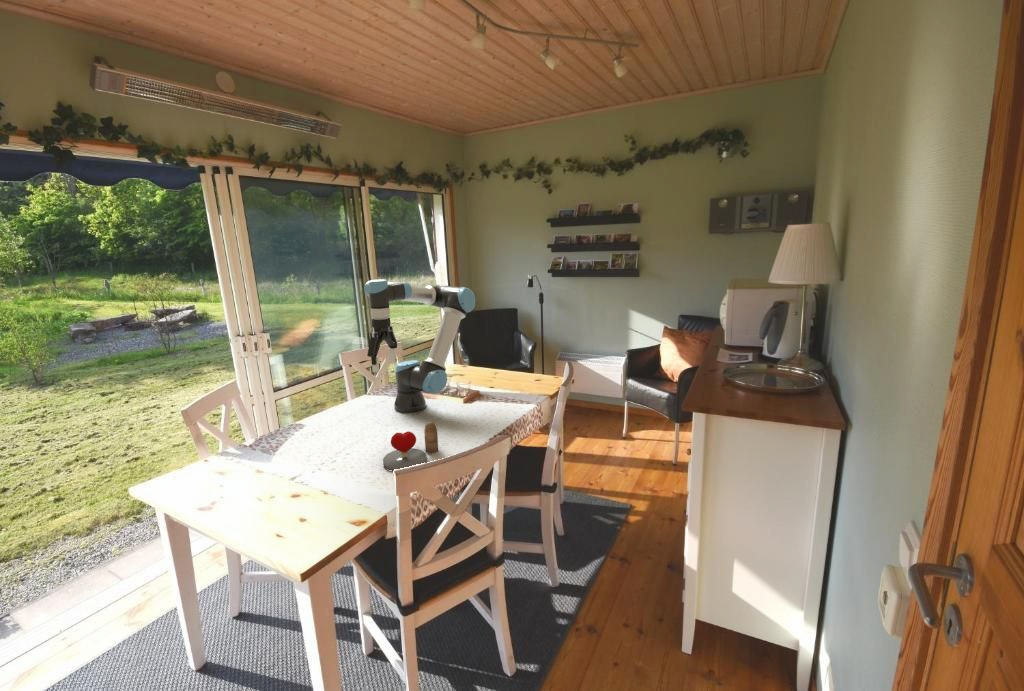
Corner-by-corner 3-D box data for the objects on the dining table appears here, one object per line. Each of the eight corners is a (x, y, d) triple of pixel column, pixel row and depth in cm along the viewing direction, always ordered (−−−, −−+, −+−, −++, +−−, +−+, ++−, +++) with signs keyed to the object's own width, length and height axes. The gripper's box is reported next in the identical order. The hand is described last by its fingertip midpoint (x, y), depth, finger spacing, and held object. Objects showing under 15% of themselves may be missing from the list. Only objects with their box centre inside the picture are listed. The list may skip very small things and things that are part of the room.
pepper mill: (428, 447, 191) (427, 419, 188) (440, 448, 190) (438, 420, 187) (423, 452, 187) (421, 424, 184) (435, 454, 185) (433, 425, 183)
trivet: (396, 449, 189) (395, 446, 189) (433, 454, 185) (433, 450, 185) (374, 469, 174) (374, 465, 174) (414, 474, 170) (414, 470, 170)
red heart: (392, 463, 175) (390, 438, 172) (391, 455, 181) (389, 430, 179) (417, 460, 177) (416, 435, 175) (416, 452, 184) (415, 427, 181)
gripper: (387, 312, 208) (391, 359, 213) (355, 323, 184) (360, 375, 189) (403, 312, 206) (406, 360, 211) (372, 323, 183) (376, 376, 188)
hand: (384, 367), depth 200 cm, fingers open, 13 cm apart
